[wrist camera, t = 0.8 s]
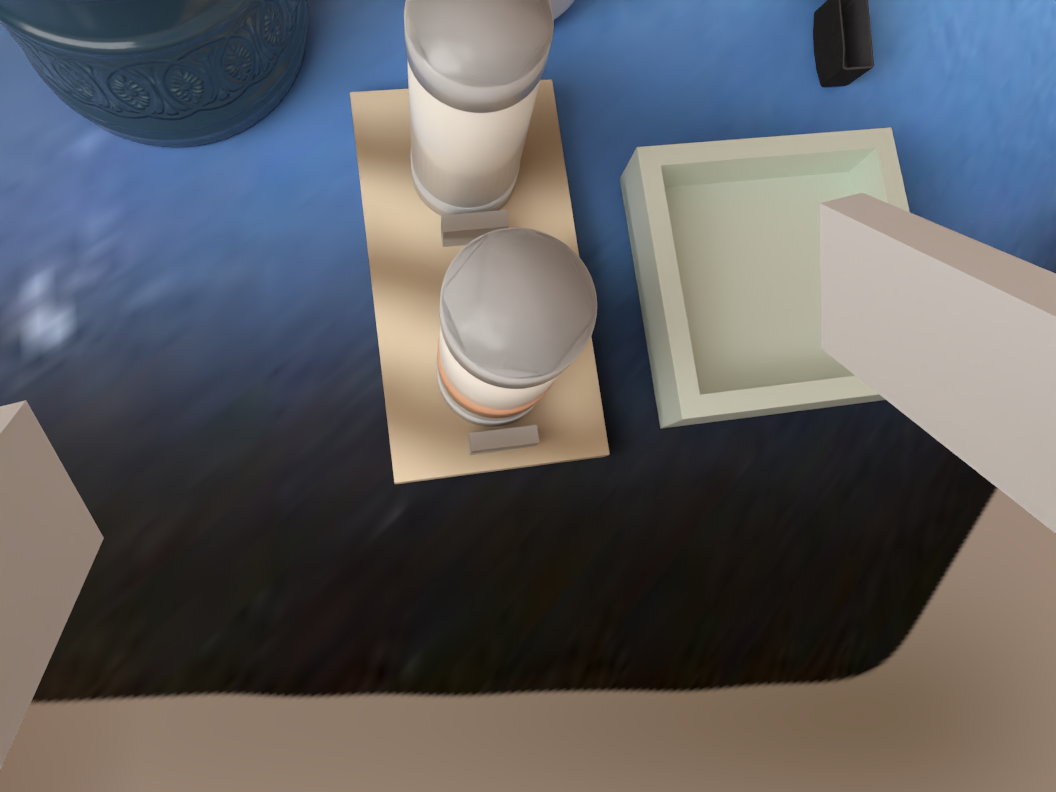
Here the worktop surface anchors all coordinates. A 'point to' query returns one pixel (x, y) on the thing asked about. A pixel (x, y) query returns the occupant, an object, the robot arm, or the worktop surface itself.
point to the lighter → (842, 41)
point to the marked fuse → (510, 323)
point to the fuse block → (415, 288)
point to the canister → (164, 61)
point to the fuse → (472, 96)
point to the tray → (745, 268)
